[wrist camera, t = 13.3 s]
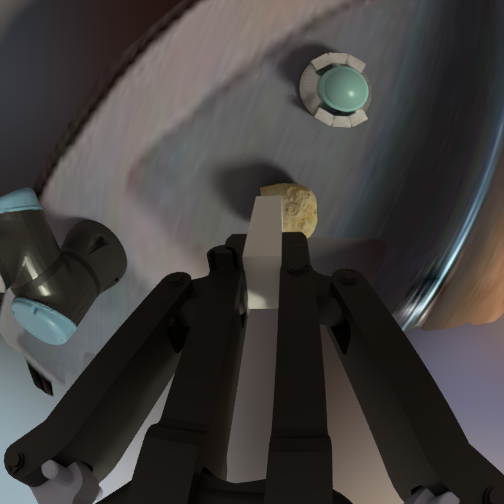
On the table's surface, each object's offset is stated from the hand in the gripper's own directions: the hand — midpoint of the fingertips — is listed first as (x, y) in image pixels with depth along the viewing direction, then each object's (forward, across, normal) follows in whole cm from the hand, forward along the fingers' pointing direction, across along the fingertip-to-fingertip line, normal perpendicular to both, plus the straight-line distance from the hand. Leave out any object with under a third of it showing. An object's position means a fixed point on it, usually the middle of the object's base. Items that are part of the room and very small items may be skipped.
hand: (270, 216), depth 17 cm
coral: (+27, +1, -10) cm, 28 cm away
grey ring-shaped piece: (+26, +9, +8) cm, 29 cm away
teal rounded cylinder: (+26, +9, +8) cm, 29 cm away
